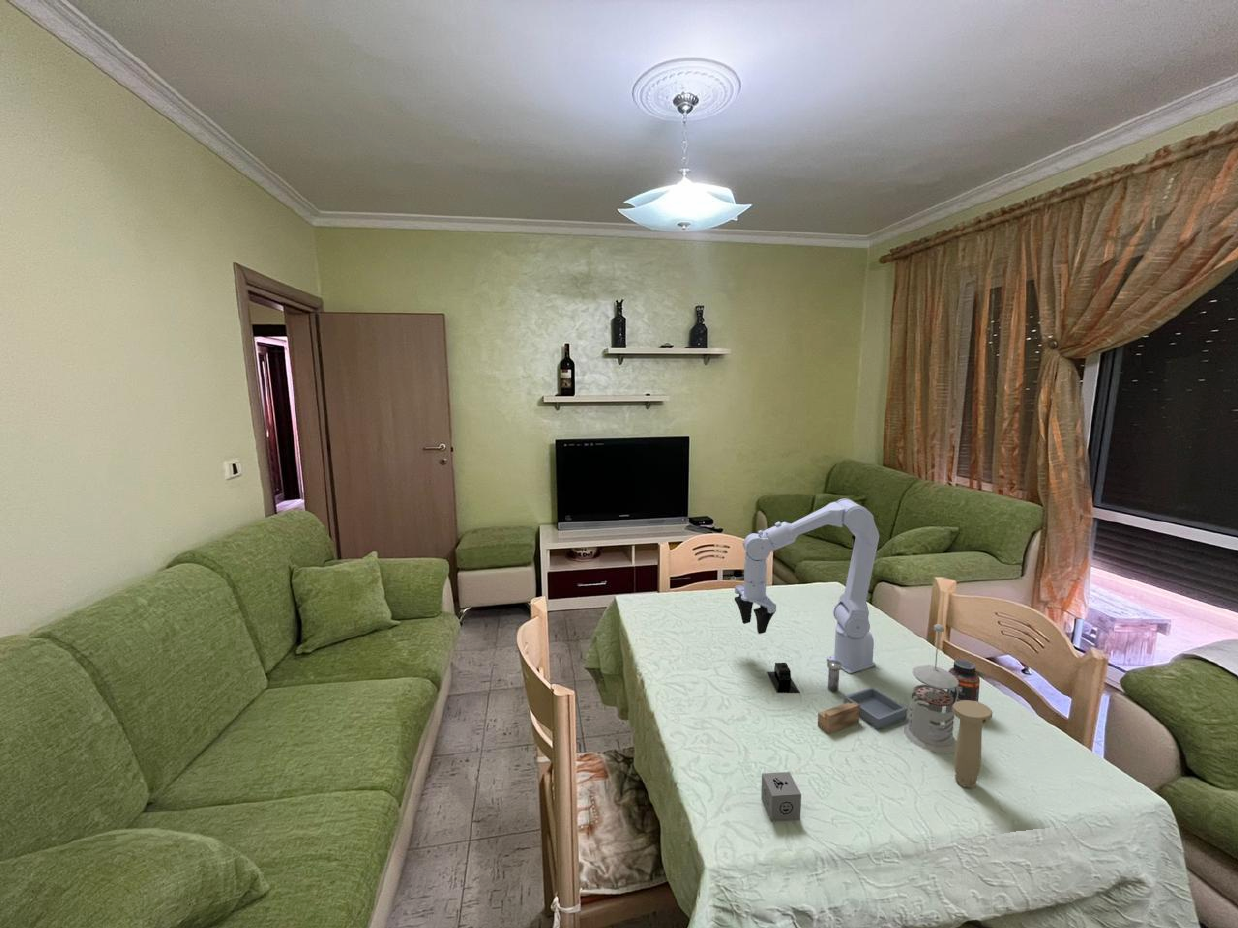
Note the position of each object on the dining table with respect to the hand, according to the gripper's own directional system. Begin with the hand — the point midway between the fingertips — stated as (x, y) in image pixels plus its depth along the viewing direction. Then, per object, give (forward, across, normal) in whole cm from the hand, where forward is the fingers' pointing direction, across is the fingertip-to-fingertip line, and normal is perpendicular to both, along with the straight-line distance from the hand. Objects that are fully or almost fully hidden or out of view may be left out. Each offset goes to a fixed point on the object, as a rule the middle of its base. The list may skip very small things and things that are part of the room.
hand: (753, 627), depth 135 cm
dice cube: (+10, +41, -27) cm, 50 cm away
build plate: (+10, +11, 0) cm, 15 cm away
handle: (+10, +51, +8) cm, 53 cm away
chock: (+9, +29, 0) cm, 30 cm away
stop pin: (+9, +19, +9) cm, 23 cm away
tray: (+9, +30, +10) cm, 33 cm away
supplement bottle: (+10, +37, +29) cm, 48 cm away
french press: (+10, +40, +15) cm, 44 cm away
